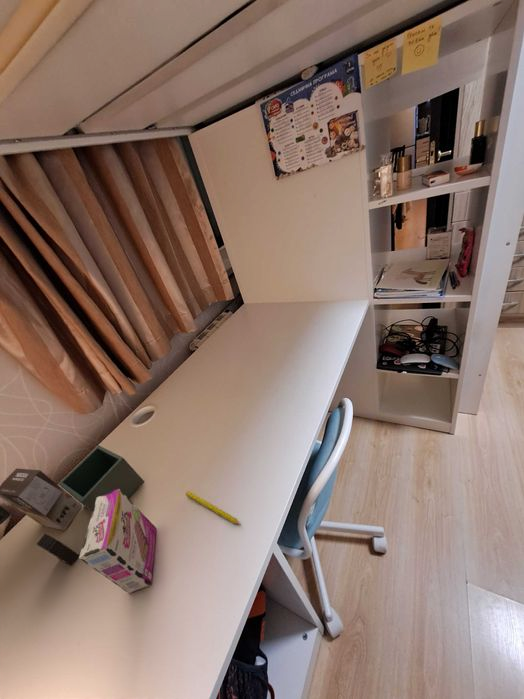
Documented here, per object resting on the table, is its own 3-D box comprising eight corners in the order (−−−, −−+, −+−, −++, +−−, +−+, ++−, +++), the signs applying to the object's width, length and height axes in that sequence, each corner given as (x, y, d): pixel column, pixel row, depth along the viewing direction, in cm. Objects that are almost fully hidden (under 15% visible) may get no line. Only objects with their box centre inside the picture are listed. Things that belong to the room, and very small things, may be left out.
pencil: (186, 496, 69) (185, 494, 69) (189, 492, 70) (187, 490, 69) (240, 527, 60) (238, 525, 59) (242, 523, 60) (241, 520, 60)
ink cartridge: (58, 559, 65) (34, 543, 61) (67, 548, 67) (44, 532, 62) (71, 567, 63) (47, 551, 59) (80, 555, 64) (56, 539, 60)
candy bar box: (153, 585, 56) (106, 548, 47) (129, 595, 55) (76, 560, 46) (158, 526, 65) (119, 487, 56) (137, 534, 65) (94, 496, 56)
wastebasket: (83, 505, 75) (57, 483, 69) (119, 467, 83) (98, 445, 77) (108, 524, 69) (81, 501, 63) (144, 481, 76) (123, 457, 71)
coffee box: (83, 504, 76) (41, 469, 67) (65, 530, 71) (17, 496, 62) (59, 501, 79) (16, 467, 70) (40, 526, 74) (-9, 493, 65)
